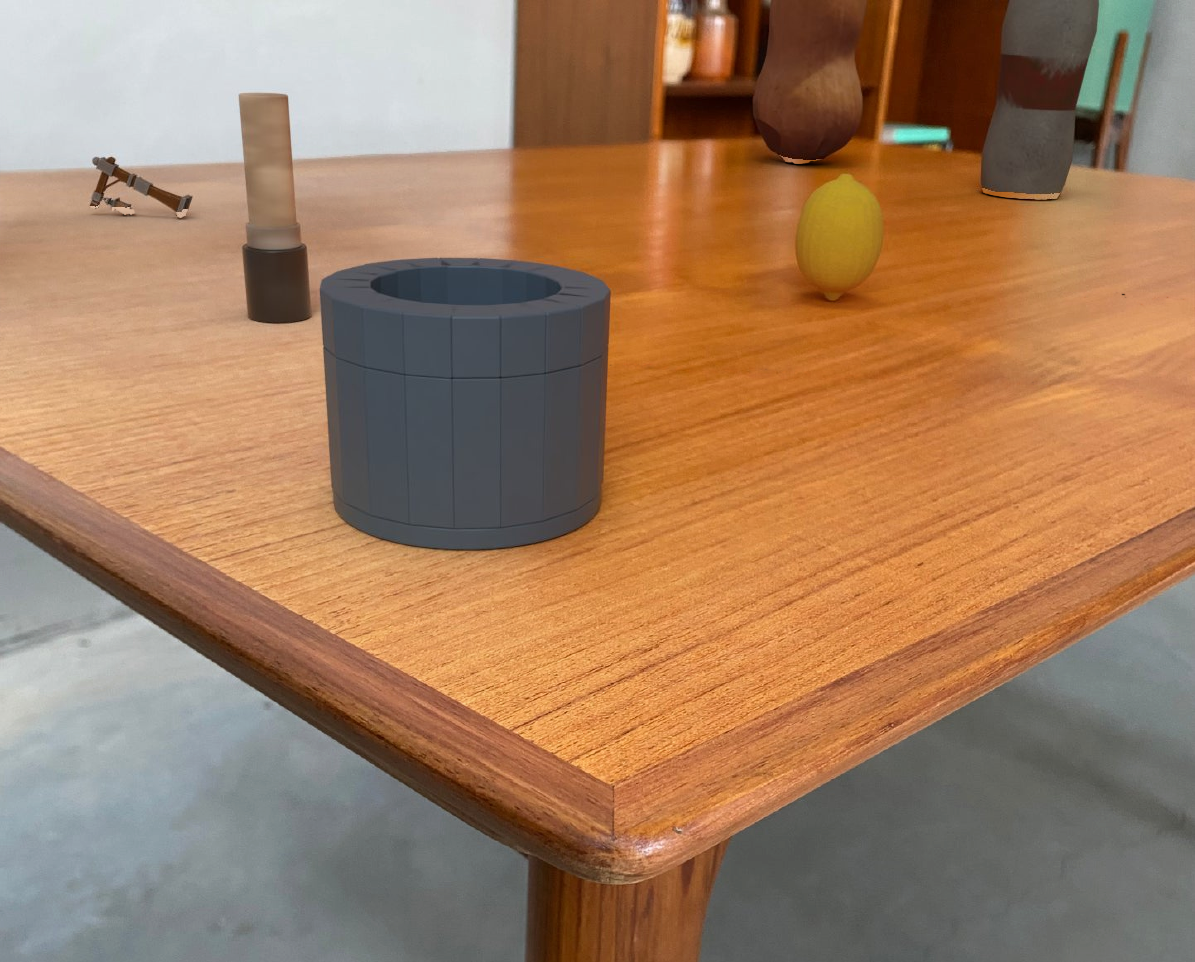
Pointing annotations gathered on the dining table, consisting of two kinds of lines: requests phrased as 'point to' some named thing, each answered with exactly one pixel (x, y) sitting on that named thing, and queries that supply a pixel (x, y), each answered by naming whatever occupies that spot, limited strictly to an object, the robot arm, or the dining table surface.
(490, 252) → the dining table surface
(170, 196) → the wooden post with brackets
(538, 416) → the grey paneled mortar
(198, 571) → the dining table surface
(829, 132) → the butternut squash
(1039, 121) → the grey vase with band
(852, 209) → the lemon
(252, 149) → the tan cylinder
